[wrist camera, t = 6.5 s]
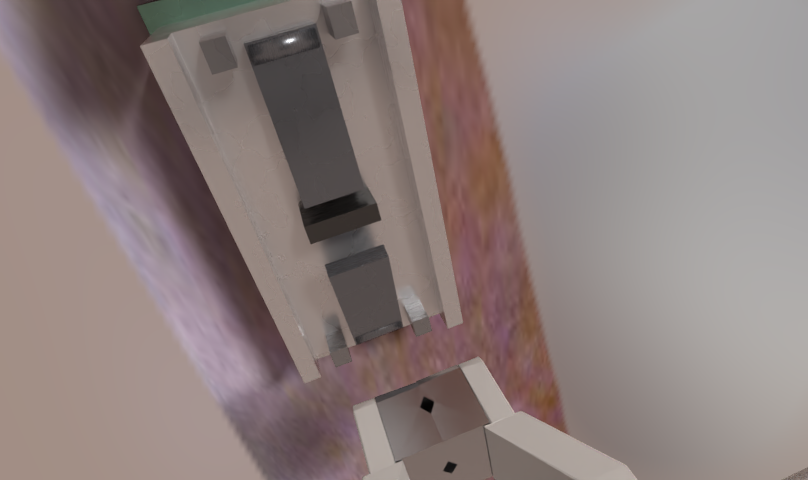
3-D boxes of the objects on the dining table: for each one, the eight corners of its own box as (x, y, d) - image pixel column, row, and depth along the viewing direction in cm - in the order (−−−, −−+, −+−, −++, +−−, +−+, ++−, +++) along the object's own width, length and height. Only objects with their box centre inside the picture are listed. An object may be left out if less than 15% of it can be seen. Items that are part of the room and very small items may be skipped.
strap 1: (243, 42, 20) (243, 44, 19) (313, 22, 20) (316, 23, 20) (303, 202, 24) (305, 210, 23) (361, 183, 24) (365, 190, 23)
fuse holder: (138, 5, 22) (108, 22, 17) (367, -55, 24) (407, -57, 18) (291, 331, 34) (302, 404, 28) (438, 277, 35) (475, 336, 30)
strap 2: (398, 316, 30) (404, 330, 29) (352, 333, 29) (356, 348, 29) (383, 244, 24) (389, 259, 23) (324, 264, 23) (329, 281, 23)
